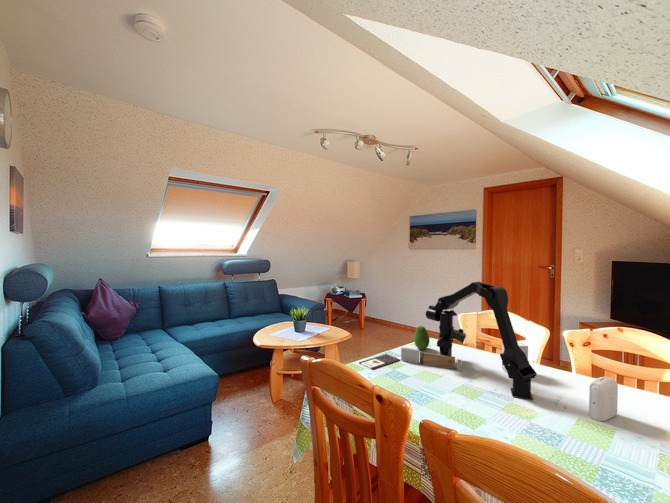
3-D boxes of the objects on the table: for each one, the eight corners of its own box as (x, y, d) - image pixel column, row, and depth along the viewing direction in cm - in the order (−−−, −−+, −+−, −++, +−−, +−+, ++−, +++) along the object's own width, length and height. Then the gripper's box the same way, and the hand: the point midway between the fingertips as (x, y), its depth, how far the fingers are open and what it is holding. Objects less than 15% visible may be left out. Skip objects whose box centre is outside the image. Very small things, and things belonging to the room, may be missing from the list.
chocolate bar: (400, 359, 145) (372, 368, 134) (400, 361, 145) (372, 370, 134) (386, 354, 152) (358, 362, 141) (386, 355, 152) (358, 364, 141)
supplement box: (528, 376, 129) (528, 346, 128) (510, 375, 129) (511, 345, 129) (518, 368, 136) (518, 340, 136) (501, 368, 136) (501, 340, 136)
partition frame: (461, 370, 134) (461, 356, 134) (401, 360, 145) (401, 347, 145) (461, 368, 136) (461, 354, 136) (402, 358, 147) (402, 346, 147)
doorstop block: (450, 361, 140) (451, 348, 140) (439, 359, 142) (439, 346, 142) (451, 358, 144) (451, 345, 144) (440, 356, 146) (440, 344, 146)
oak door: (454, 369, 134) (454, 358, 134) (419, 364, 141) (419, 352, 141) (455, 367, 137) (455, 356, 137) (419, 362, 143) (420, 351, 143)
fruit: (411, 347, 164) (411, 324, 164) (423, 345, 166) (424, 323, 166) (419, 352, 156) (419, 328, 156) (432, 350, 159) (433, 327, 158)
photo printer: (602, 423, 95) (603, 383, 94) (586, 416, 98) (587, 378, 98) (619, 415, 99) (620, 377, 99) (603, 409, 103) (604, 372, 103)
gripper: (464, 330, 131) (463, 367, 131) (465, 321, 148) (465, 353, 148) (437, 327, 135) (436, 362, 136) (441, 318, 152) (440, 349, 153)
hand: (445, 357), depth 143 cm, fingers closed on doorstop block, 4 cm apart
